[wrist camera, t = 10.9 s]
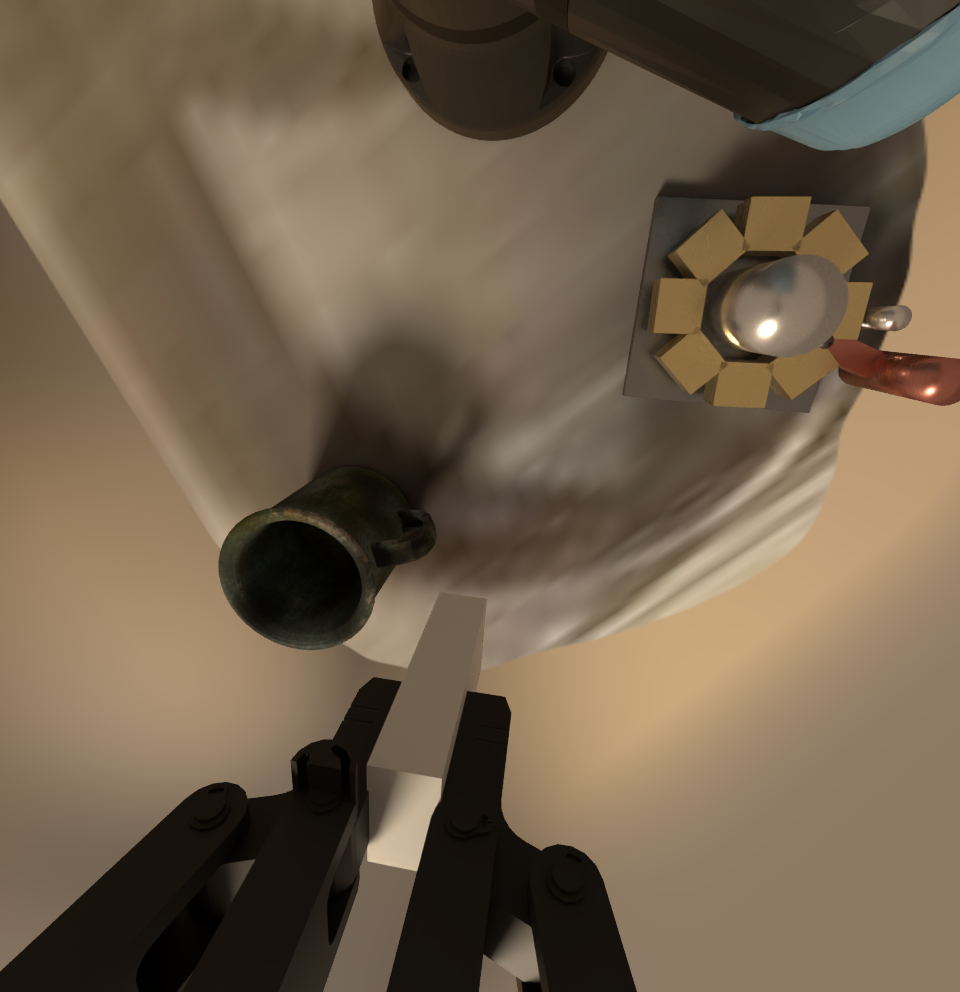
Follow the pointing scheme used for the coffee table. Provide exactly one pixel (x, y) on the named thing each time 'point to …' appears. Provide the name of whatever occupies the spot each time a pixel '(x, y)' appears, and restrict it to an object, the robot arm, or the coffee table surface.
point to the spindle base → (662, 267)
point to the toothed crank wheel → (747, 382)
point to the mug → (321, 557)
